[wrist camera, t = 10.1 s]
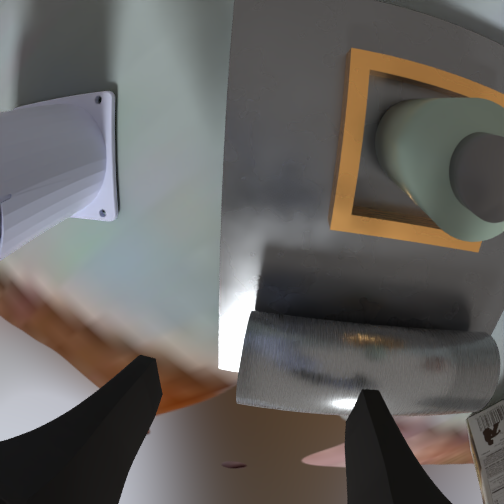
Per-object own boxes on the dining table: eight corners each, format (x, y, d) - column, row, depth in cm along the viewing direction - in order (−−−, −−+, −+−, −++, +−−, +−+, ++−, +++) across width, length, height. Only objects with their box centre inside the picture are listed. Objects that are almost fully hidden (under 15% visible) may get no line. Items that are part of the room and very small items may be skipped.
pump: (373, 188, 14) (420, 254, 8) (374, 94, 12) (432, 84, 6) (455, 194, 13) (534, 257, 7) (460, 105, 11) (554, 116, 5)
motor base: (225, 349, 22) (199, 428, 16) (243, 0, 12) (205, -60, 6) (453, 368, 20) (479, 437, 14) (538, 77, 10) (614, 81, 4)
